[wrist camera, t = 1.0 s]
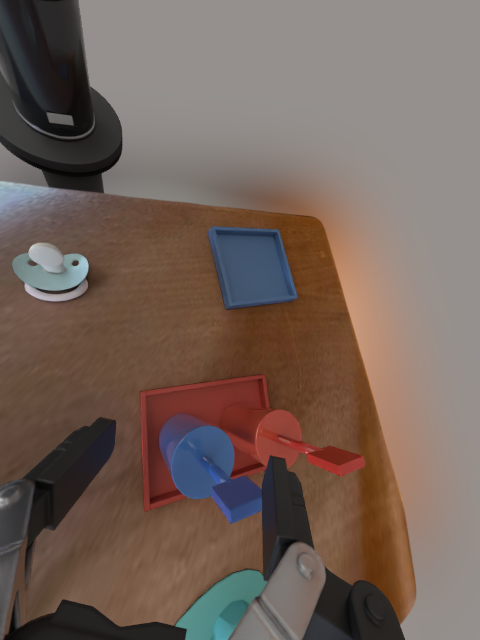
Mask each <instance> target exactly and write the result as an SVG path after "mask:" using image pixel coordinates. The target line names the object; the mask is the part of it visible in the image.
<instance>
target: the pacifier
mask: <svg viewBox="0 0 480 640" xmlns="http://www.w3.org/2000/svg"><path fill="white" fill-rule="evenodd" d="M31 260H33V261H34V262H36V263H37V265H36V266H30V265H29V264H28V262H29V261H31ZM74 261H78V262H79V264H78V265H77V266H73V265H72V263H73V262H74ZM12 265H13V270H14V272H15V273H16V275H17V276H18V277H19V278H20V279H21V280H22V281H23V282H25V289H26V291H27V292H28V293H29V294H30V295H32V296H34V297H35V298H38V299H41V300H47V301H65V300H70V299H74V298H76V297H78V296H80V295H82V294H83V293H84V292H85V291H86V290H87V288H88V282H87V280H86V279H85V278H86V276H87V274H88V270H89V265H88V261H87V260H86V258H85V257H84V256H82V255H79V254H68V255H64V256H63V254H62V252H61V251H60V250H59V249H58V248H57V247H55V246H54V245H52V244H49V243H37V244H34V245H33V246H31V248H30V249H29V253H24V254H20V255H18V256H17V257H15V258H14V260H13V263H12ZM78 284H80V285H79V286H78V288H77V289H75V290H74V291H71V292H69V293H65V294H47V293H43V292H40V291H39V290H37V289H36V288H39V289H44V290H65V289H69V288H72V287H75V286H77V285H78ZM35 287H36V288H35Z"/></svg>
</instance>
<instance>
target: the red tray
mask: <svg viewBox="0 0 480 640" xmlns="http://www.w3.org/2000/svg"><path fill="white" fill-rule="evenodd" d="M237 402H242V403H248V404H253V405H259V406H265V407H270V405H269V398H268V391H267V384H266V377H265V374H261V375H253V376H246V377H238V378H231V379H224V380H217V381H210V382H203V383H196V384H188V385H181V386H174V387H167V388H160V389H153V390H146V391H140V403H141V436H142V468H143V501H144V512H146V511H149V510H152V509H155V508H158V507H161V506H163V505H166V504H169V503H172V502H175V501H178V500H181V499H184V498H186V497H187V496H185V495H183V494H182V493H181V492H180V491H179V490H178V489H177V487H176V485H175V484H174V481H173V479H172V477H171V475H170V472H169V470H168V468H167V466H166V463H165V461H164V459H163V457H162V454H161V452H160V450H159V446H158V437H159V433H160V430H161V428H162V426H163V425H164V423H165V422H166V421H167V420H168V419H169V418H171V417H172V416H174V415H176V414H179V413H189V414H192V415H194V416H196V417H198V418H200V419H202V420H204V421H206V422H208V423H210V424H212V425H214V426H216V427H218V428H220V419H221V416H222V414H223V412H224V411H225V409H226V408H227V407H228V406H230V405H231V404H233V403H237ZM233 448H234V466H233V469H232V472H231V475H230V477H231V478H232V479H235V478H238V477H241V476H244V475H245V476H246V477H247V476H249V475H252V474H255V473H258V472H261V471H264V470H266V466H264V465H263V464H261V463H260V462H258V461H256V460H255V459H253V458H251V457H250V456H248V455H246V454H245V453H243V452H242V451H240V450H238V449H237V448H235V447H233Z"/></svg>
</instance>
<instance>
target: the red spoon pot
mask: <svg viewBox="0 0 480 640" xmlns="http://www.w3.org/2000/svg"><path fill="white" fill-rule="evenodd" d="M220 429H221V430H223V431H224V432H225V433H226V434H227V435H228V436H229V438H230V440H231V442H232V444H233V447H235V448H237V449H238V450H240V451H242V452H243V453H245V454H246V455H248V456H250V457H251V458H253V459H255V460H256V461H258V462H260V463H261V464H263V465H264V466H266V467H267V464H268V460H269V457H270V455H272V456H276V457H281V458H285V460H286V465H287V468H288V467H290V466H291V465H292V464H293V463H294V462H295V461H296V459H297V458H298V456H299V453H300V452H301V453H304V454H306V455H307V456H308V462H309V463H311V464H314V465H316V466H318V467H321V468H323V469H325V470H327V471H330V472H332V473H334V474H336V475H339V476H343V475H346V474H348V473H350V472H353V471H355V470H357V469H359V468H362V467H364V466H365V461H364V457H363V456H361V455H358V454H355V453H352V452H349V451H345V450H342V449H339V448H336V447H333V446H327V447H324V448H319V447H316V446H313V445H310V444H307V443H304V442H302V431H301V427H300V425H299V422H298V421H297V419H296V418H295V417H294V416H293V415H292V414H291V413H290V412H288V411H286V410H282V409H276V408H271V407H265V406H259V405H253V404H248V403H242V402H237V403H233V404H231V405H230V406H228V407H227V408H226V409H225V411H224V412H223V414H222V416H221V419H220Z"/></svg>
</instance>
